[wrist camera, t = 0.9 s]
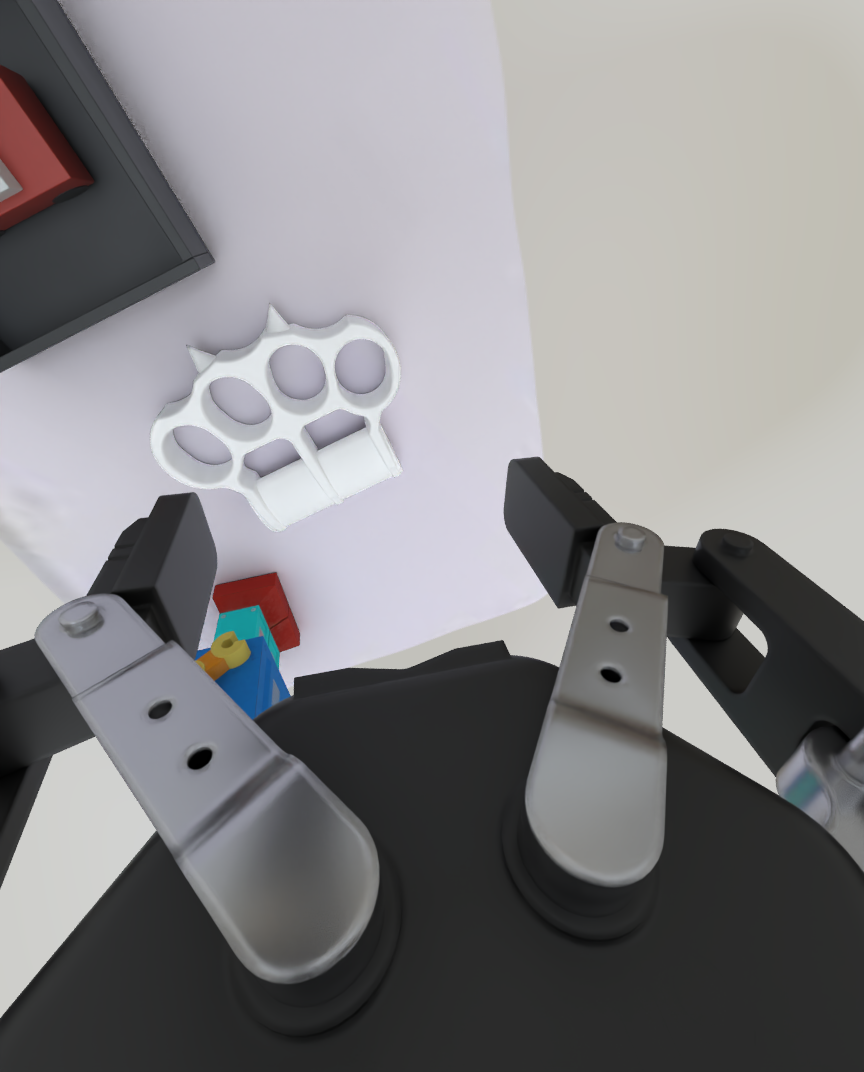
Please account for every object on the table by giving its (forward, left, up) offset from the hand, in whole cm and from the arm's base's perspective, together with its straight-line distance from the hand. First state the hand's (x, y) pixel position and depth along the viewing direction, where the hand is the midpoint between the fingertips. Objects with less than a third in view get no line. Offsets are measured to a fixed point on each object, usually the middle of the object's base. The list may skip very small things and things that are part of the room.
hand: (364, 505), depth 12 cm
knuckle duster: (+4, -5, -25) cm, 26 cm away
